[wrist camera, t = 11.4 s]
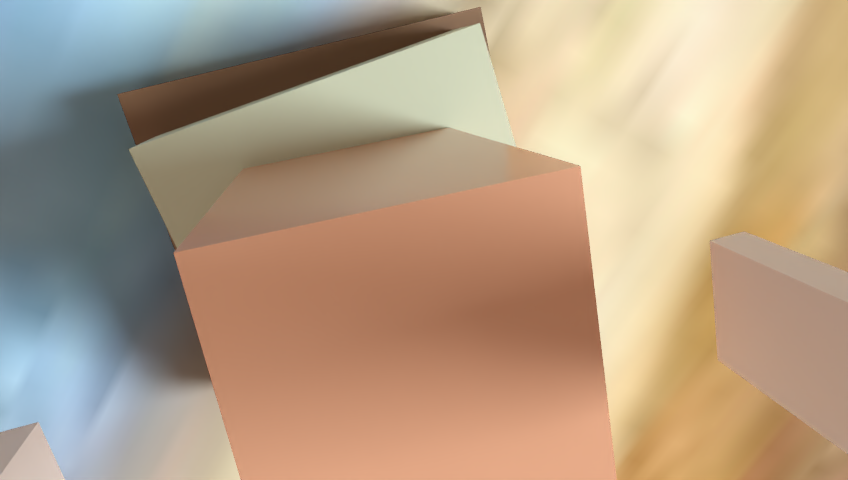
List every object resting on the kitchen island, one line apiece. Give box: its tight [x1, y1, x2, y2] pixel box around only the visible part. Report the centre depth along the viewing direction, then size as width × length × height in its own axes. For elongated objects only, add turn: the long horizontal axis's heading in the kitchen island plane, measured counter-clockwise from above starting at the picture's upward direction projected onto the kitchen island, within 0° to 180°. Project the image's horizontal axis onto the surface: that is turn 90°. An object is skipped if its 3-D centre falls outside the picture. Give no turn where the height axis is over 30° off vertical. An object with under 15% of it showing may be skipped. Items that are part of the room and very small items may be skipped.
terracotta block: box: [174, 127, 617, 480], centre depth 17 cm, size 7×7×11 cm
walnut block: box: [117, 7, 490, 250], centre depth 28 cm, size 14×14×4 cm
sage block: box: [129, 23, 516, 248], centre depth 24 cm, size 12×12×4 cm
